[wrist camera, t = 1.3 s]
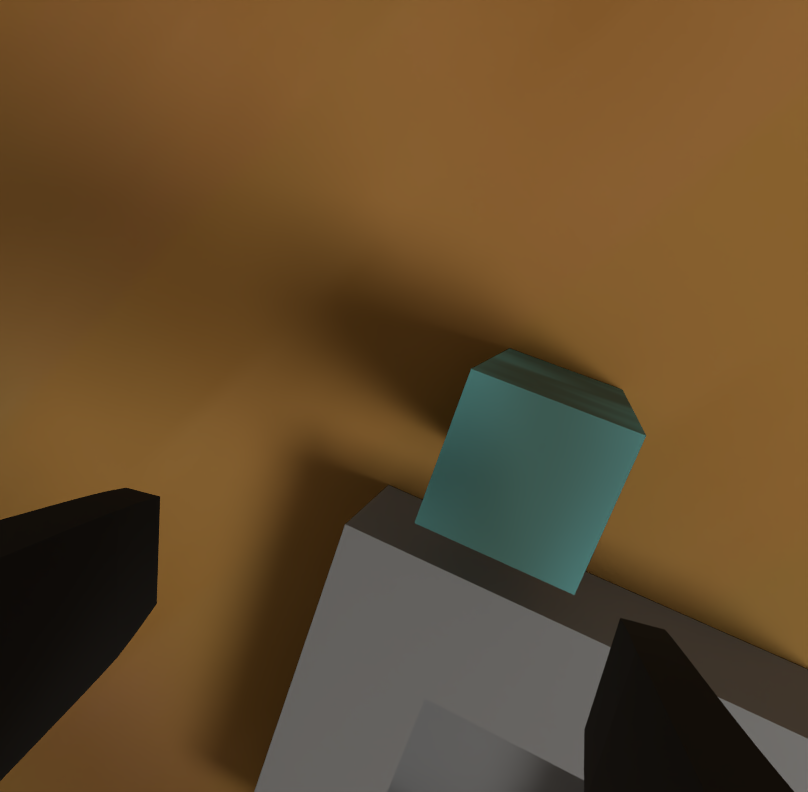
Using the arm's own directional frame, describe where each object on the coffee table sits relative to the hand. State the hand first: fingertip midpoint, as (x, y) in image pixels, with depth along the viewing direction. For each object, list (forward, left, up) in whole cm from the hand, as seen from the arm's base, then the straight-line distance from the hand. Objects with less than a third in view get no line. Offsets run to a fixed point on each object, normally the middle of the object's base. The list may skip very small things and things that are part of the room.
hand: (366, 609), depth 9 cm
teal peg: (-1, -2, -11) cm, 11 cm away
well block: (-4, +9, -11) cm, 15 cm away
